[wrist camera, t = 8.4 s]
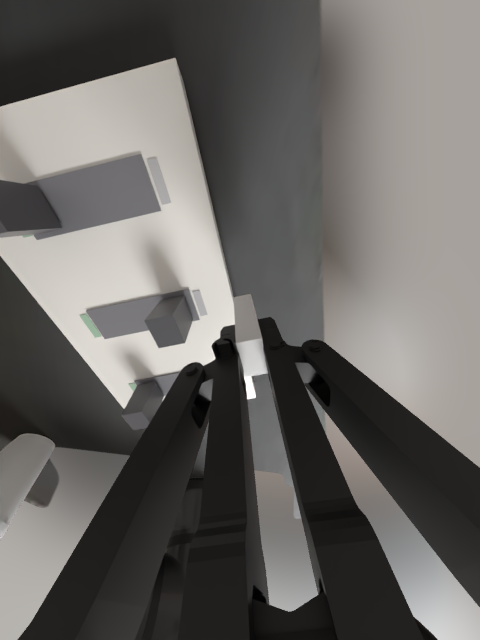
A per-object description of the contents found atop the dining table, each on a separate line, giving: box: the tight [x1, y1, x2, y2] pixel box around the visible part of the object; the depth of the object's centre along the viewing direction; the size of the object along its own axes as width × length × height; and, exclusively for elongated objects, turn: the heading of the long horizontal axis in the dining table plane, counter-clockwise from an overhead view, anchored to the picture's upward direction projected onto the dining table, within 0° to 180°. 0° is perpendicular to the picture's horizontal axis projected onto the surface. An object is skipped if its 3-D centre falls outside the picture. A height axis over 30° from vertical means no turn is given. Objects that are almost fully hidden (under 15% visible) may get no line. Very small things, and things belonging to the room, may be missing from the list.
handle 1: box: [0, 180, 62, 238], centre depth 13 cm, size 3×2×4 cm
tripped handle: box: [144, 295, 193, 348], centre depth 18 cm, size 3×2×4 cm
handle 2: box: [121, 381, 164, 430], centre depth 24 cm, size 3×2×4 cm
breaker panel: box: [0, 58, 256, 409], centre depth 22 cm, size 34×20×3 cm, turn 11°
